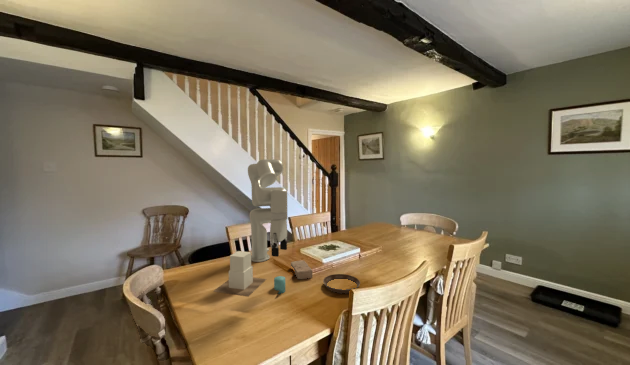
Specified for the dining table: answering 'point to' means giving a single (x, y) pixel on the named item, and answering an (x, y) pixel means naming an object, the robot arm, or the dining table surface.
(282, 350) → the dining table surface
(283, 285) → the teal cylinder
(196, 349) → the dining table surface
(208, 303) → the dining table surface
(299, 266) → the brick
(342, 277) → the dark brown ring
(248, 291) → the tower board
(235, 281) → the tower block lower
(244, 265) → the tower block upper
